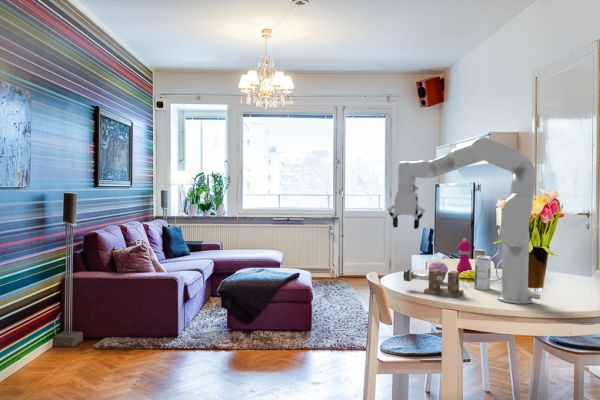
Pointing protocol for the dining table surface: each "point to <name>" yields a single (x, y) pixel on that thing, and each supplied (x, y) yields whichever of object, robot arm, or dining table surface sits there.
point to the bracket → (450, 291)
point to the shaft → (417, 276)
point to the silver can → (482, 272)
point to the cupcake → (439, 268)
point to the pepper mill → (464, 256)
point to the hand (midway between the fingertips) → (405, 227)
